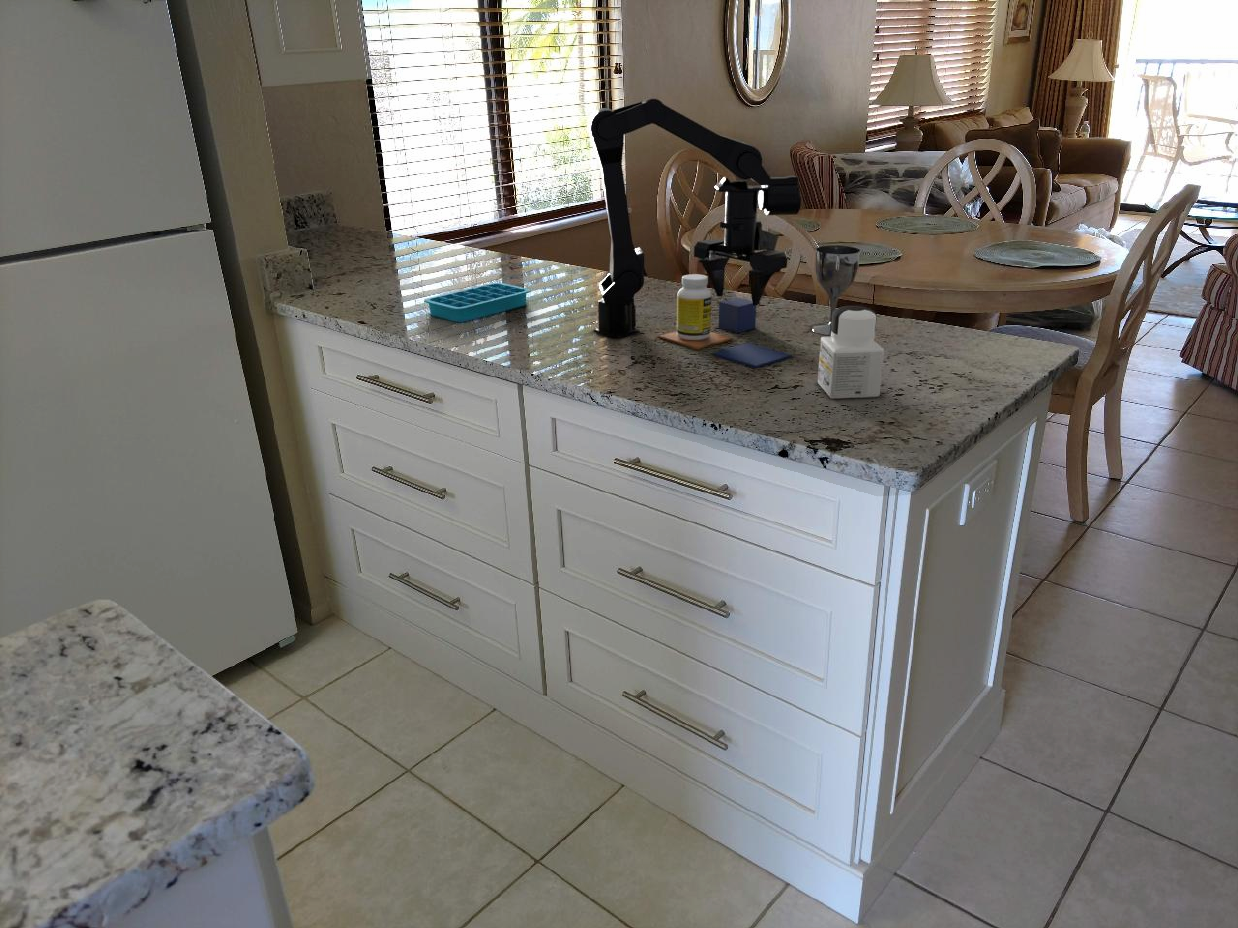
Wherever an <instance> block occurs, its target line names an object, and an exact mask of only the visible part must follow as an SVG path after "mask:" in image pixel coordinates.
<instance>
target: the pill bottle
mask: <svg viewBox="0 0 1238 928" xmlns="http://www.w3.org/2000/svg"><path fill="white" fill-rule="evenodd" d="M708 284H709V277H708V275H705V274H698V273H692V274H685V275H682V276H681V285H682V287H681V288H680V289H678V290H677V297H676V302H677V303H676V331H677V336H678V337H679V338H681V339H685V340H703V339H706V338H708V337H709V336H710V332H711V329H712V328H711V326H712V325H711V324H712V323H711V322H712V291H711V289H709V288H708V287H707V286H708Z"/></svg>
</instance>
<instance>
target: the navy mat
mask: <svg viewBox="0 0 1238 928" xmlns="http://www.w3.org/2000/svg"><path fill="white" fill-rule="evenodd" d="M712 355H713V356H716V357H718V358H722V359H726V360H729V361H732V362H735V363H739V364H742V365H745V366H748V367H751V368H754V369H757V368H760V367H763V366H768V365H770V364H773V363H777V362H779V361H783V360H787V359H790V358H792V354H789V353H786V352H782V351H779V350H775V349H772V348H768V347H765V346H762V345H758V344H755V343H751V342H746V343H742V344H739V345H735V346H732V347H731V346H730V347H729V348H725V349H720V350H718V351H715V352H713V353H712Z"/></svg>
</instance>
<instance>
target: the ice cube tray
mask: <svg viewBox="0 0 1238 928" xmlns="http://www.w3.org/2000/svg"><path fill="white" fill-rule="evenodd" d="M531 292H532V290H531V288H527V287H522V286H517V285H513V284H508V283H504V282H490V283H486V284H481V285H477V286H473V287H469V288H466V289H460V290H457V291H456V290H455V291H452V292H448V293H444V294H440V295H435V296H432V297H428V298H424V299H423V302H424V303H425V304H428V306H429V307H428V308H429V312H430V315H431V316H433V317H438V318H440V319H444V320H448V321H452V322H456V323H463V322H469V321H472V320H476V319H481V318H483V317H484V318H485V317H488V316H491V315H495V314H498V313H501V312H505V311H509V310H513V309H517V308H520V307H524V306H526V305H527V294H530V293H531Z"/></svg>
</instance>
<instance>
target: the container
mask: <svg viewBox="0 0 1238 928" xmlns="http://www.w3.org/2000/svg"><path fill="white" fill-rule="evenodd" d="M877 318H878V314H877V312H876V311H875V310H873V309H871V308H869V307H867V306H862V305H843V306H840V307H836V310H835V311H834V312H833V315H832V327H831V335H827V336H821V338H820V345H819V347H820V348H819V360H818V371H817V384H819V386H820V387H821V389H822V390H823V391H824V392H825V393H826V394H827V396H828V397H829V398H830V399H832V400H837V399H860V398H861V399H863V398H878V397H880V395H881V388H882V387H881V386H882V378H883V377H882V376H883V368H884V357H885V349H884V348H883V347H882V346H881V345H880V344H878V343H877V342H876V341H875V338H876V329H877V321H878V320H877Z"/></svg>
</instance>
